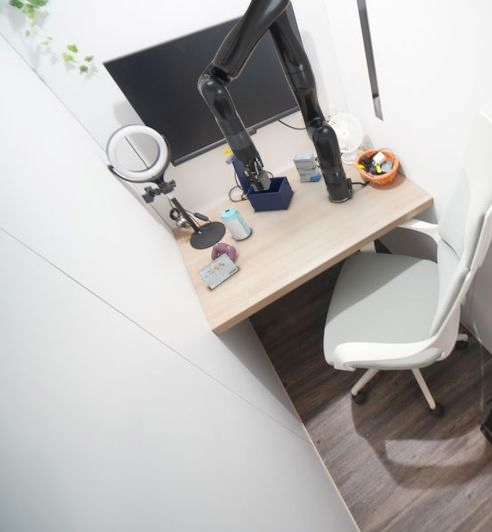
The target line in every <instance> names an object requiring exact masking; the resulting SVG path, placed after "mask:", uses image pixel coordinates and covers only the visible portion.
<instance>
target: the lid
mask: <svg viewBox="0 0 492 532" xmlns="http://www.w3.org/2000/svg"><path fill="white" fill-rule="evenodd" d="M225 164H227V165H232V166H233V167H232V168H233V169H234V172H235V175H236V177H237V179H238V182H239V184H240V187H241V189H242V192H243V194H244V196H246V195H247V193H248V191H249V189H250V187H251V185H252V184H250V183H249V182H248V180H247V179H246V178H245V176H244V175H243V173H242V171H245V168H244V165H243V162H241V161H238V160H237V159H236V158H235V156H234V154H233V152H231V153H230V154H229V156H227V158H226V160H225Z"/></svg>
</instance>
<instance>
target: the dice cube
mask: <svg viewBox="0 0 492 532" xmlns="http://www.w3.org/2000/svg"><path fill="white" fill-rule="evenodd" d="M258 172H259V175H258V177H259V180H260V182H261V183H262V185H263V187H264V190H268V189H269V186H270V183H271V181H270V178H271V177H270V176H269V174H268V173H267V171H266V169H263V170H262V171H258ZM252 173H255V172H252ZM255 178H256V176H255ZM252 186H253V188H254V190H255V191H258V190H257V188H256V186H255V184H252Z"/></svg>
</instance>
